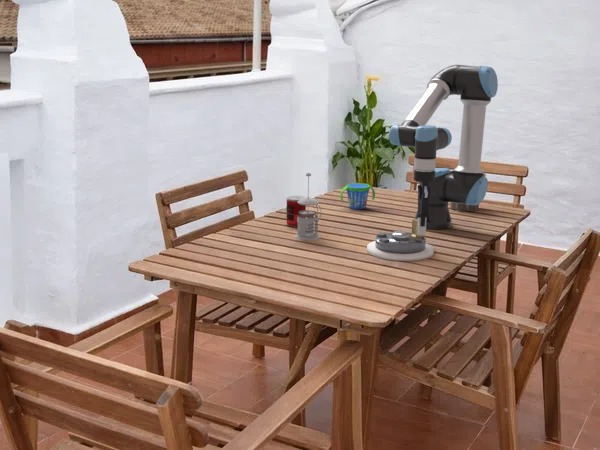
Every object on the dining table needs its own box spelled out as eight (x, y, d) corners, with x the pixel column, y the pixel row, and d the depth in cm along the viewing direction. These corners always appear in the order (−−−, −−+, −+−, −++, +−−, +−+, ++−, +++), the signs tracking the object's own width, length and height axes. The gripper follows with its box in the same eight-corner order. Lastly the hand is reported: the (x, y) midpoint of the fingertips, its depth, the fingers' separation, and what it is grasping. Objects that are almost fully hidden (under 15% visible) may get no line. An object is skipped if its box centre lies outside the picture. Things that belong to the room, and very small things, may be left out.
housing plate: (420, 241, 320) (420, 236, 319) (443, 259, 297) (443, 253, 297) (359, 244, 315) (359, 239, 314) (378, 262, 292) (378, 256, 292)
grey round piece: (396, 256, 293) (397, 230, 291) (365, 244, 308) (366, 219, 306) (435, 249, 303) (437, 224, 301) (404, 238, 318) (405, 214, 315)
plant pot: (488, 208, 378) (491, 172, 374) (475, 214, 364) (478, 178, 360) (454, 203, 386) (456, 168, 382) (440, 209, 373) (442, 173, 369)
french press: (289, 236, 324) (290, 172, 318) (309, 231, 332) (310, 168, 326) (308, 241, 317) (309, 176, 311) (328, 236, 326) (330, 172, 320)
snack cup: (342, 211, 368) (343, 188, 365) (337, 205, 378) (338, 183, 375) (377, 210, 370) (378, 187, 368) (371, 204, 380) (372, 182, 378)
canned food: (308, 222, 346) (308, 196, 343) (301, 227, 339) (302, 200, 336) (290, 221, 348) (290, 195, 346) (283, 225, 341) (283, 198, 338)
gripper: (438, 173, 292) (434, 239, 298) (432, 166, 304) (429, 229, 310) (416, 173, 292) (413, 239, 297) (411, 166, 304) (408, 229, 310)
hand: (421, 234), depth 304 cm, fingers closed
